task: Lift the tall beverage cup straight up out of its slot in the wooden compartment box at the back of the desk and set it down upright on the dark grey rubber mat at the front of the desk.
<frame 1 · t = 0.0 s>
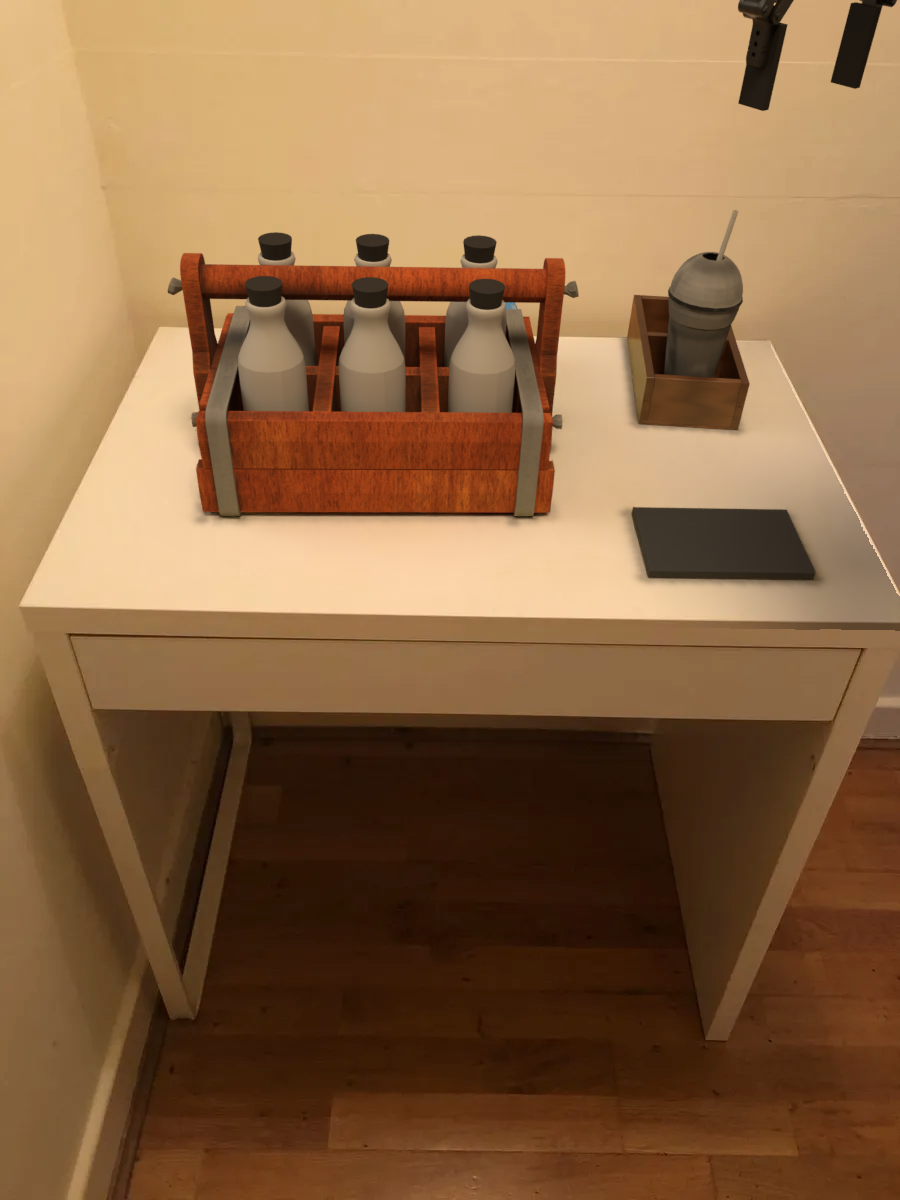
hand: (800, 96, 89), 29 cm above the table, tool pointing down, fingers open, 13 cm apart
label tape box: (494, 375, 108), on the table
mat: (719, 545, 85), on the table
milk bottle holder: (379, 457, 95), on the table
wooden compartment box: (678, 380, 107), on the table
beverage cup: (683, 401, 104), resting on wooden compartment box
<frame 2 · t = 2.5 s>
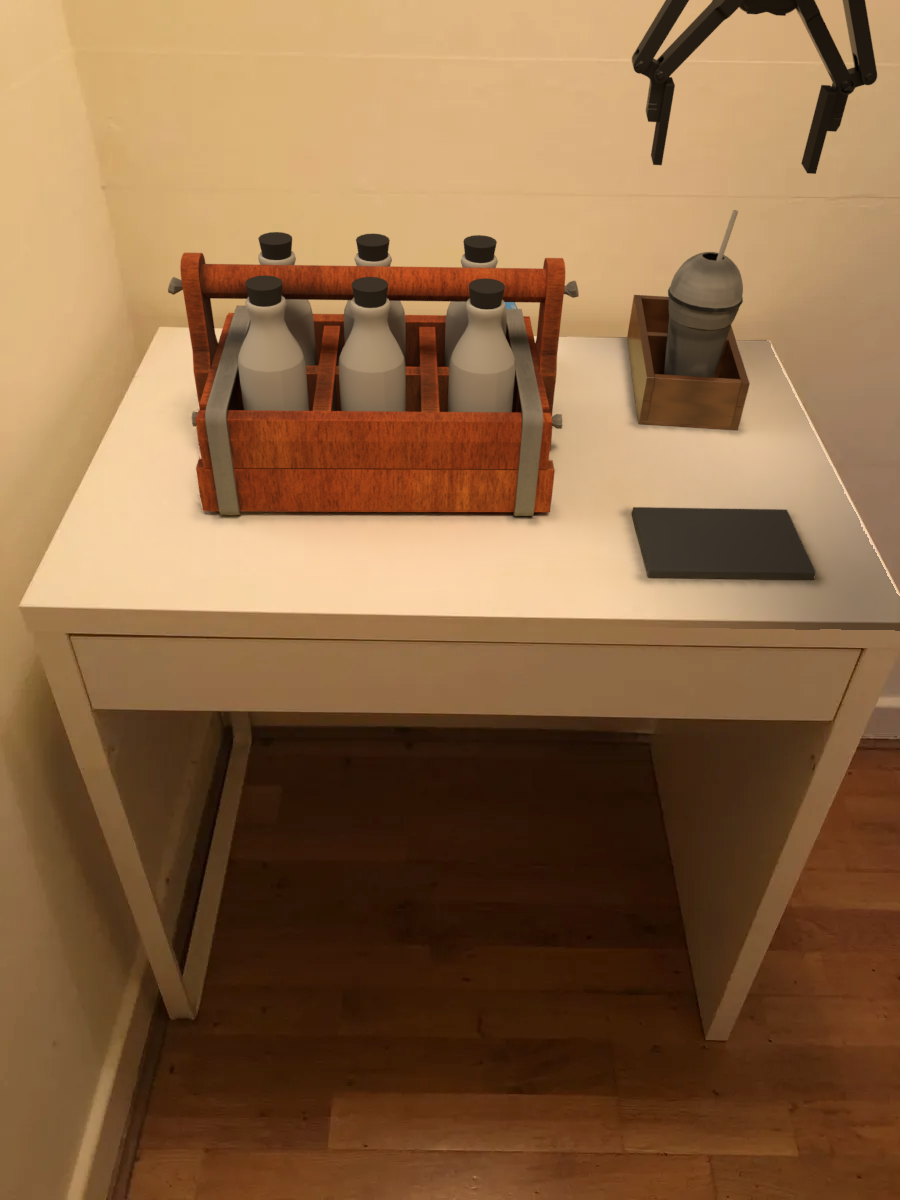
hand: (731, 165, 88), 24 cm above the table, tool pointing down, fingers open, 13 cm apart
nothing on the table moved.
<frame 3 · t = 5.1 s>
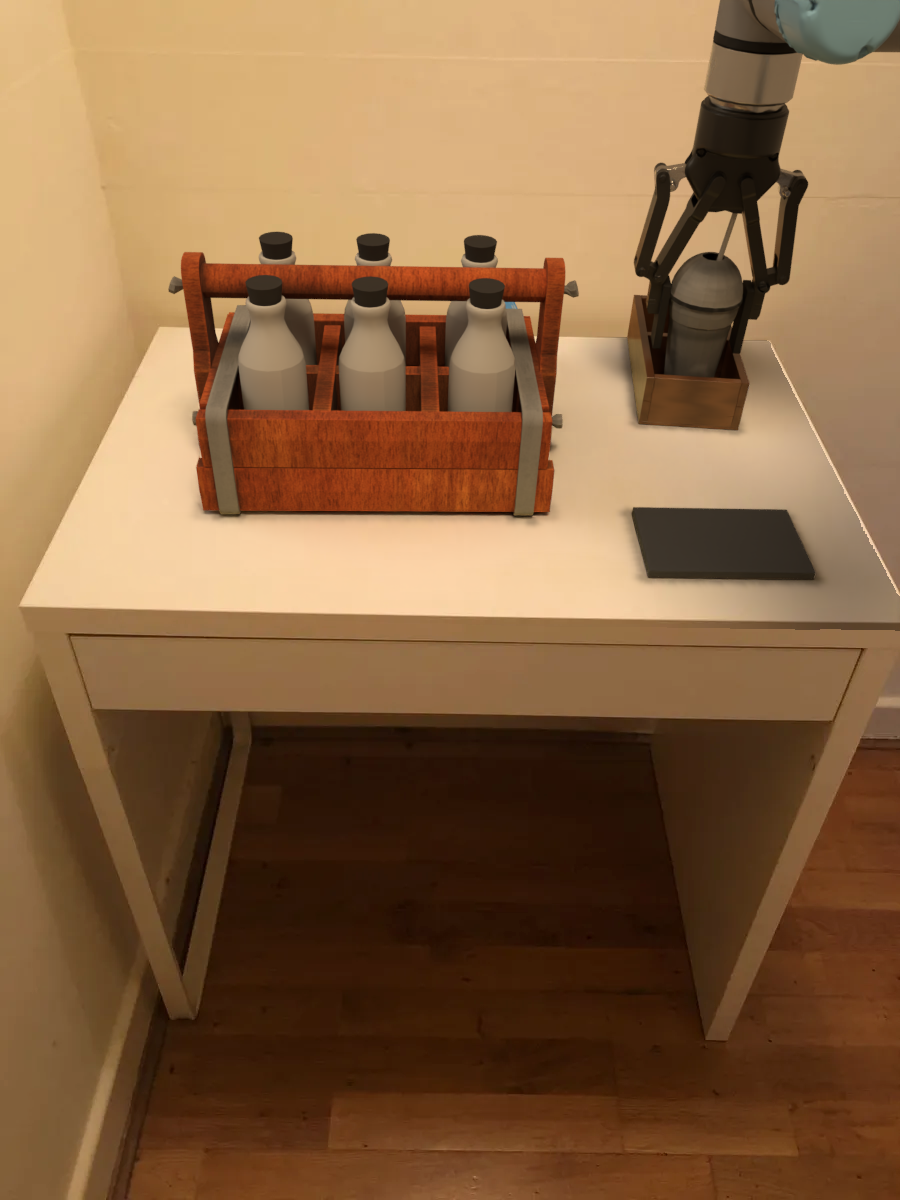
hand: (694, 344, 100), 7 cm above the table, tool pointing down, fingers closed on beverage cup, 7 cm apart
beverage cup: (683, 401, 104), resting on wooden compartment box, touching gripper
everything else where it was.
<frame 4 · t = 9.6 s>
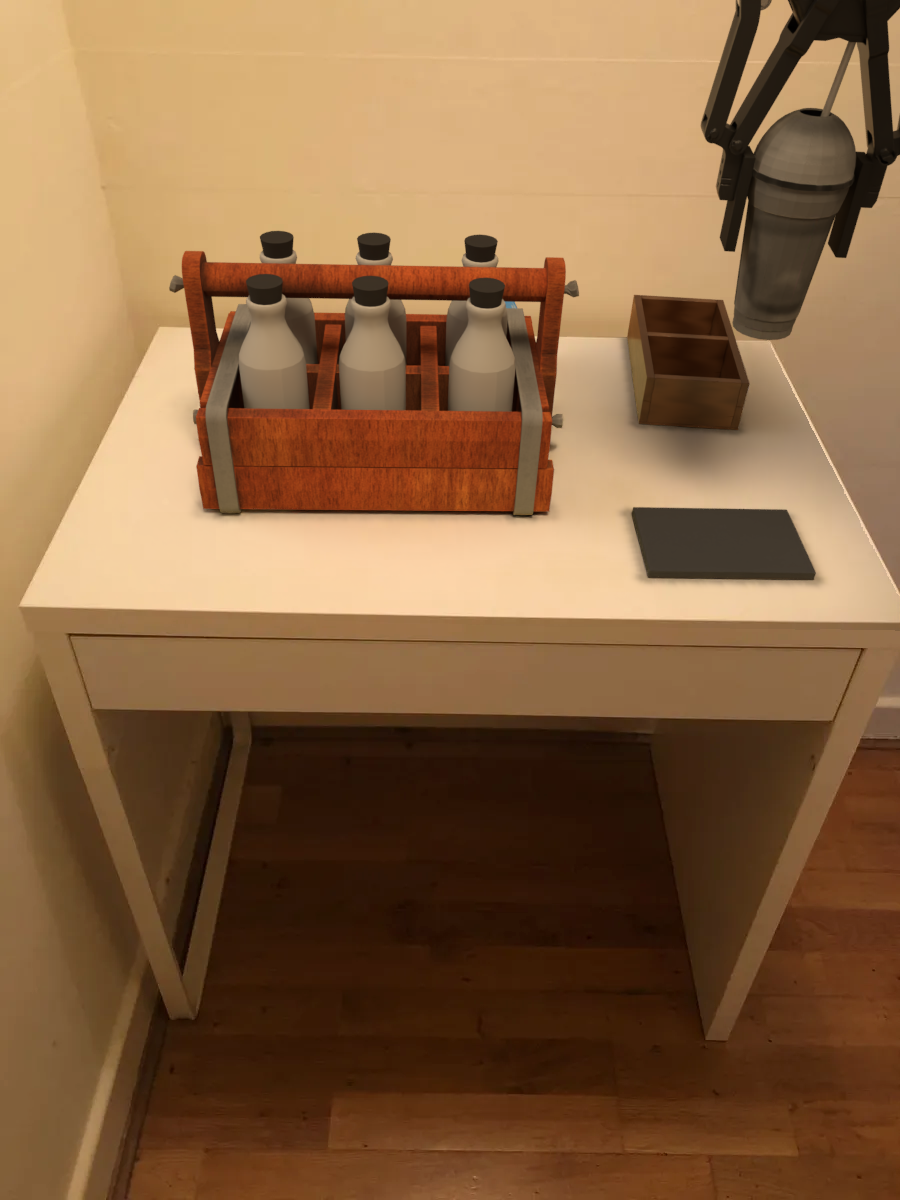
hand: (782, 247, 72), 25 cm above the table, tool pointing down, fingers closed on beverage cup, 7 cm apart
beverage cup: (761, 329, 76), point 18 cm above the table, touching gripper
everything else where it was.
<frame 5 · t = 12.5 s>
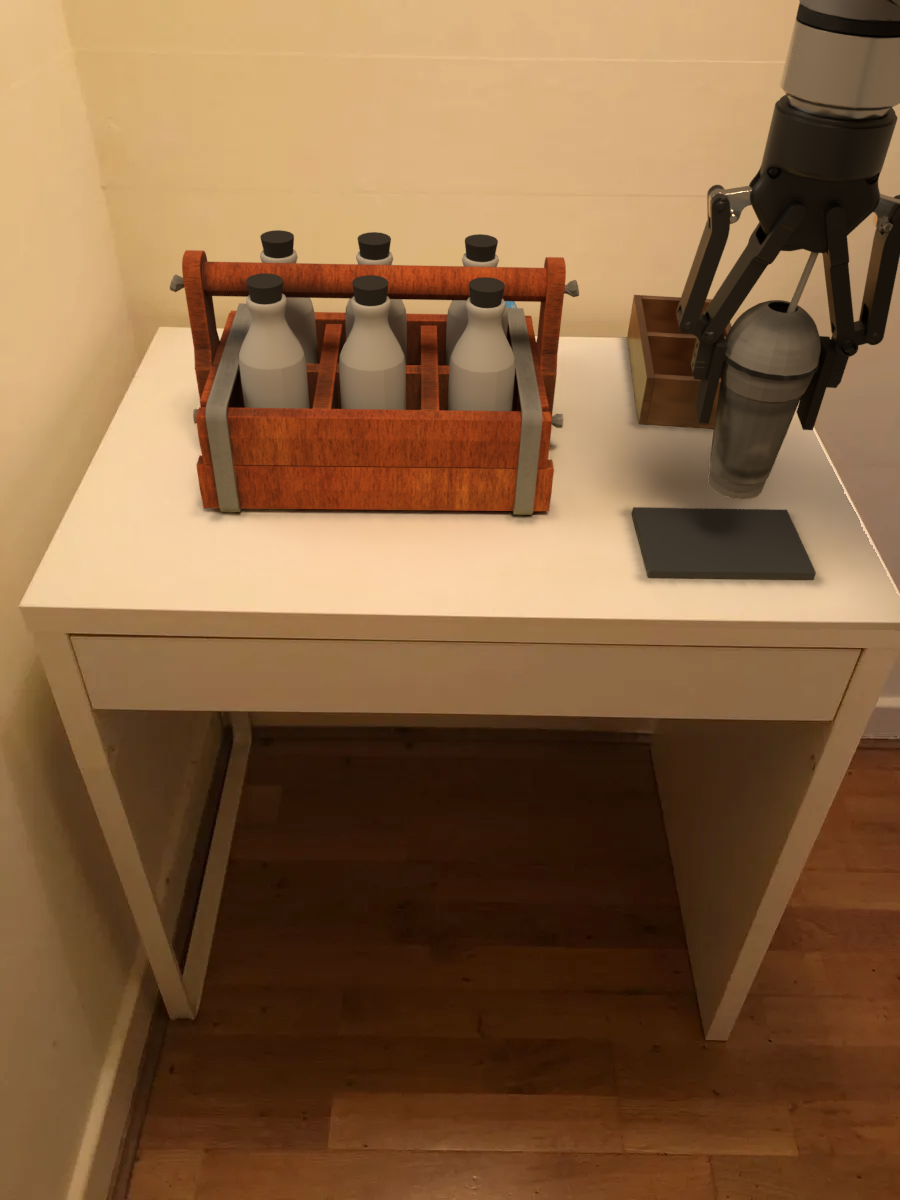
hand: (753, 417, 77), 13 cm above the table, tool pointing down, fingers closed on beverage cup, 7 cm apart
beverage cup: (734, 485, 81), point 6 cm above the table, touching gripper
everything else where it was.
when the fingers open (7 cm above the table, at t = 14.3 s): beverage cup stays where it is, resting on mat.
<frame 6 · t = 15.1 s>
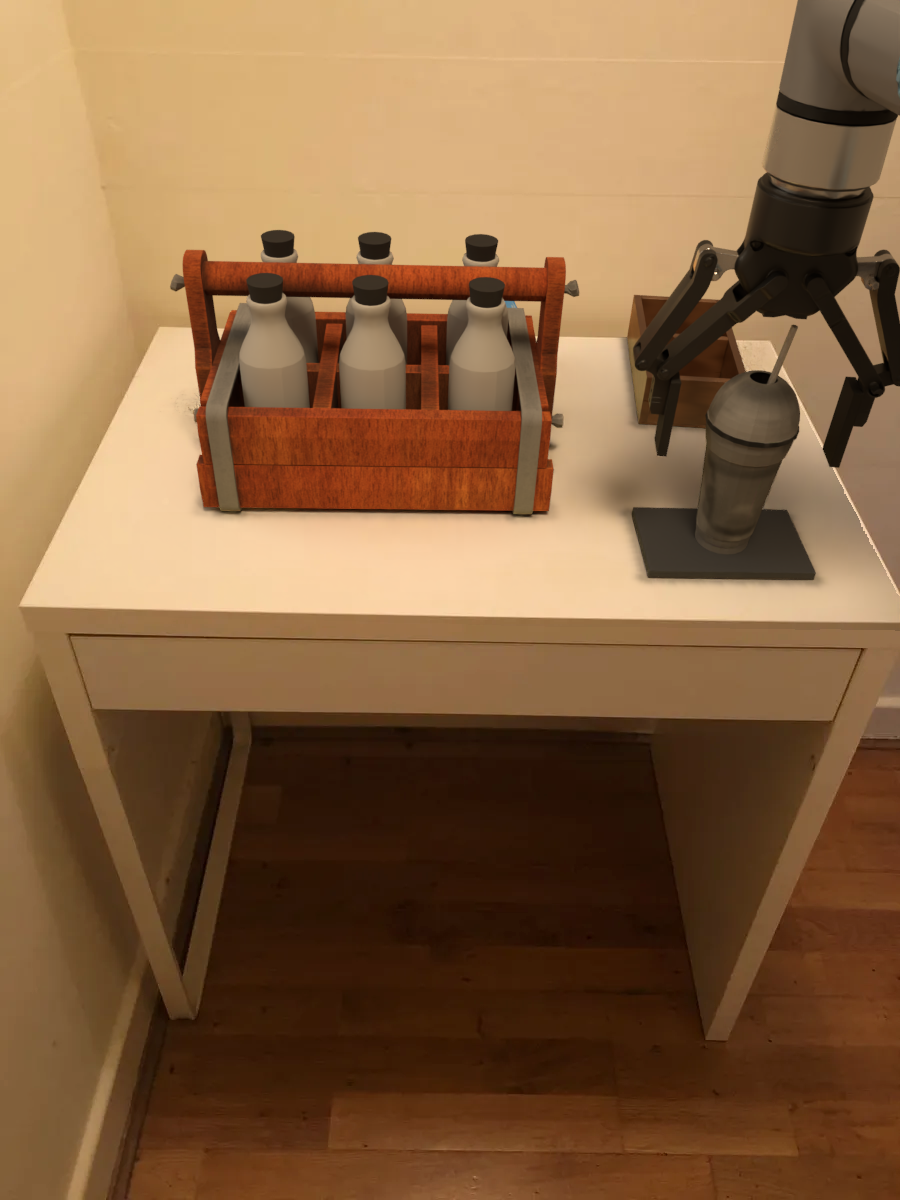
hand: (745, 453, 79), 10 cm above the table, tool pointing down, fingers open, 13 cm apart
beverage cup: (720, 539, 85), point 1 cm above the table, touching mat
everything else where it was.
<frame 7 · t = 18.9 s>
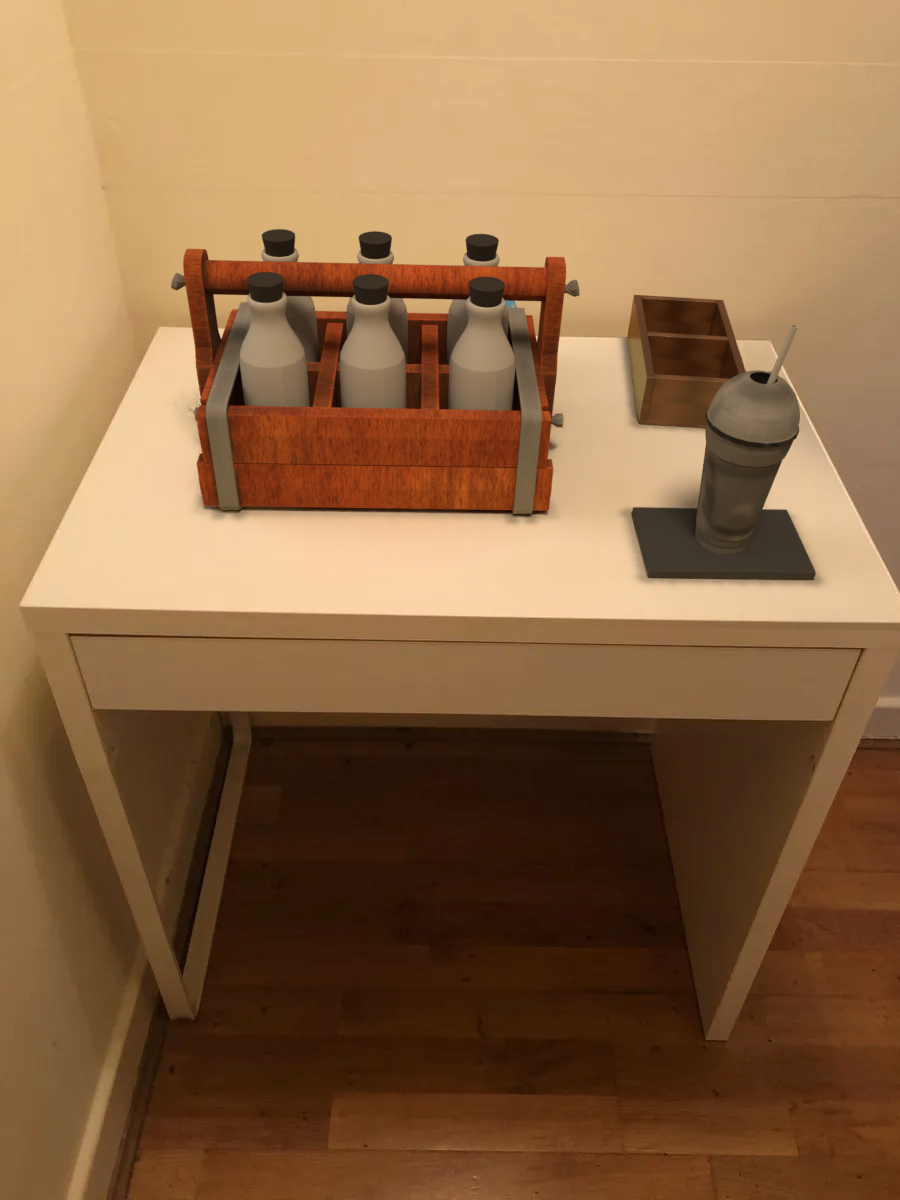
nothing on the table moved.
at the end: beverage cup inside the target area on the mat (0.0 cm from its centre), point 0.6 cm above the mat's base; beverage cup tilted 0°; beverage cup touching mat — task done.
